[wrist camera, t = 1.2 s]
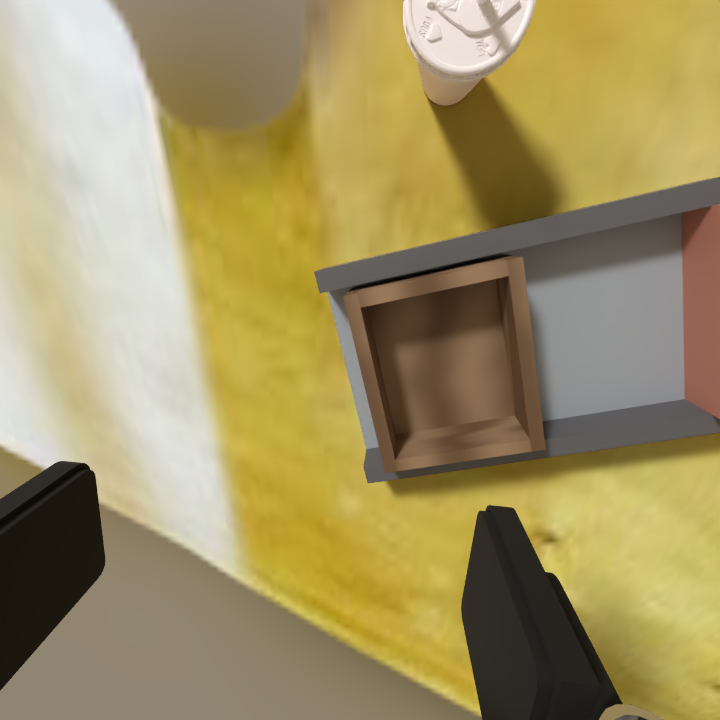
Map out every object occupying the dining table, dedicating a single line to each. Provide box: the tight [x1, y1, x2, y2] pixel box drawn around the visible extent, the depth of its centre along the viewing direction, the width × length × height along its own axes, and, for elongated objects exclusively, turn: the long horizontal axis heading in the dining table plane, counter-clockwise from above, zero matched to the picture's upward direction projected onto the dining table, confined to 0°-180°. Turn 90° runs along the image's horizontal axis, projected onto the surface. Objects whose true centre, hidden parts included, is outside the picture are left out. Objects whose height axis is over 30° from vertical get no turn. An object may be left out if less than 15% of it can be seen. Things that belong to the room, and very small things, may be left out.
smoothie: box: [403, 0, 536, 106], centre depth 22 cm, size 6×6×14 cm
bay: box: [314, 177, 720, 483], centre depth 31 cm, size 28×18×5 cm, turn 103°
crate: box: [343, 254, 546, 473], centre depth 31 cm, size 12×14×5 cm
